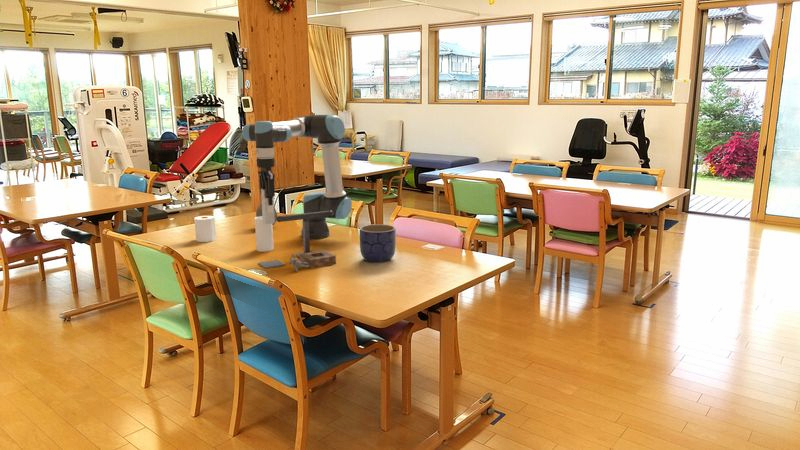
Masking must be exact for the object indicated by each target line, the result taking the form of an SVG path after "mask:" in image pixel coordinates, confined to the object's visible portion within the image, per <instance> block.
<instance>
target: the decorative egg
mask: <svg viewBox="0 0 800 450" xmlns="http://www.w3.org/2000/svg"><path fill="white" fill-rule="evenodd" d="M259 216H262V202H261V203H260V204H259V205H258V206H257V208H256V213H255V217H259ZM277 216H278V212H277V210H276V207H275V206H274V217H275V223H273V224H272V227H273V226H275V224H276V223H277V221H276V218H277Z"/></svg>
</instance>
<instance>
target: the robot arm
mask: <svg viewBox="0 0 800 450" xmlns="http://www.w3.org/2000/svg"><path fill="white" fill-rule="evenodd" d="M345 131H346V127H345V123H344V121H343V119H342V118H341V117H340V116H338V115H334V114H308V115H303V116H298V117H293V118H292V119H290V120H283V121H274V122H272V121H271V120H260V121H259V120H257V121H255V122H254V124H253V123H250V124H245V125H244V126H243V127H242V130H241V135H242V138H243V139H244V140H245V141H247V142H255V151H254V153H255V154H256V155H255V156H256V167H257V168H260V171H259V170H258V171H257V173H258V182H259V194H260V195H261V189H265V188H266V193H267V197H265V198H266V205H267V213H271V212H273V197H276V194H275V193H276V192H275V191H276V189H275V177H276V175H275V174H274V173H273V171H272V168H274V167H275V166H276V165H275V164H276V161H275V158H274V157H275V145H274V144H275V143H285V142H289V141H290V139H291V138H292V137H295V138H311V139H317V143H318V145H319V146H321V153H322V154H321V156H322V163H323V173H324V181H325V183H324V184H325V192H321V191H320V192H319V191H317V192H311V193H307V194H304V196H303V198H302V199H303V201H302V204H303V207H302V208H303V213H312V212H321V211H329V210H331V211H333V215H332V216H328V217H319V218H310V219H308V221H309V239H323V238H327V237H329V236H330V227H328V223H327V219H336V220H346V218H348V217H349V216H350V213H351V212H352V206H353V202H352V199H351V198H350V197H349V196H347V192H346V191H345V190H344V187H343V177H342V167H341V157H340V146H339V145H340V143H341V142H342V139H343V137H344V136H345ZM300 234H301V237H302V238H303V226H302V228H301V231H300Z"/></svg>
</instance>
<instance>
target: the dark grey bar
mask: <svg viewBox="0 0 800 450" xmlns="http://www.w3.org/2000/svg"><path fill="white" fill-rule="evenodd" d="M332 215H333V211H331V210H329V211H321V212H312V213H304V212H303V213H297V214H294V213H293V214H287V215H277V218H276V223H281V222H293V221H300V220H301V221H305V222H306V221H308V219H310V218H319V217H328V216H332Z"/></svg>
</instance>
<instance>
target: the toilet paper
mask: <svg viewBox="0 0 800 450" xmlns="http://www.w3.org/2000/svg"><path fill="white" fill-rule="evenodd" d="M193 220H194V230H195V231H194V232H195V242H198V243H209V242H214V241H216V240H217V235H216V234H217V233H216V232H217V231H216V219H215V216H214V215H199V216H195V217H194V219H193Z"/></svg>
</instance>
